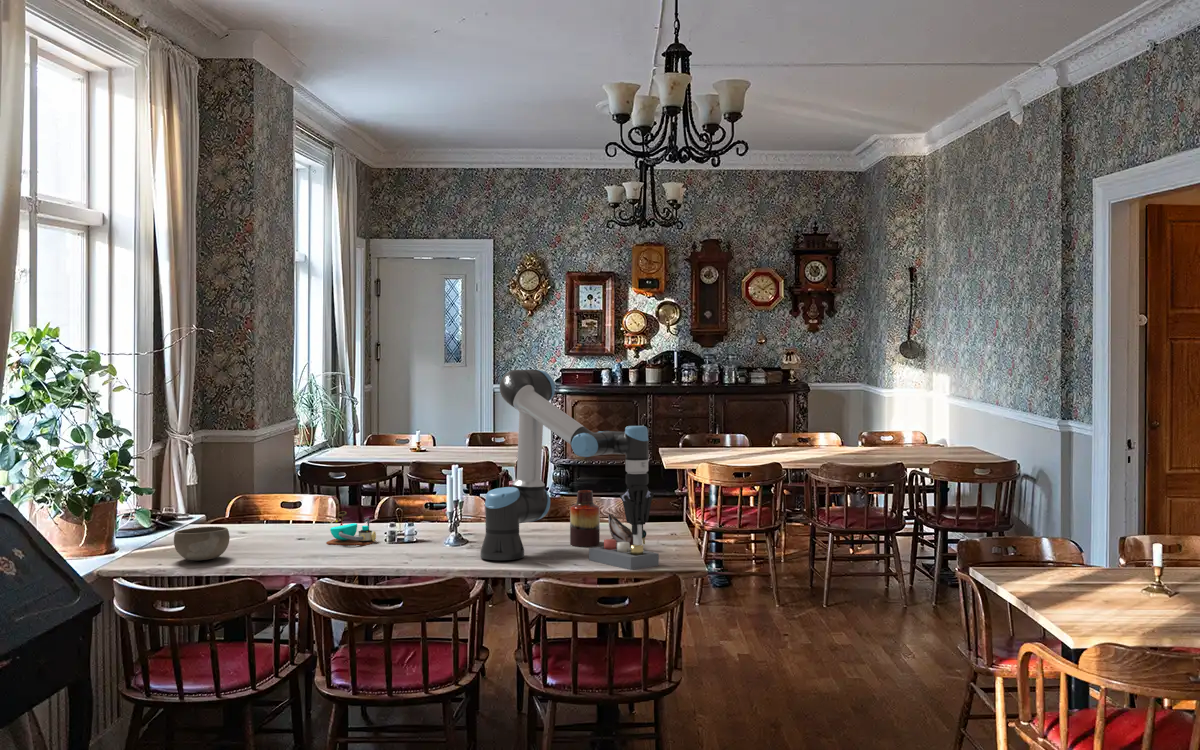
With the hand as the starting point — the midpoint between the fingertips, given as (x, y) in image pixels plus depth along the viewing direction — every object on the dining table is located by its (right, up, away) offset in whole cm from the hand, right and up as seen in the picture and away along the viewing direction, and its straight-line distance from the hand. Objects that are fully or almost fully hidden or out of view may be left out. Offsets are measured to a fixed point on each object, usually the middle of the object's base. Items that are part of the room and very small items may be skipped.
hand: (637, 544), depth 337 cm
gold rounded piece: (0, -4, 0) cm, 4 cm away
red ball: (-9, -4, +11) cm, 15 cm away
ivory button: (-5, -4, +6) cm, 8 cm away
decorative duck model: (-1, -7, +29) cm, 30 cm away
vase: (-18, -7, +38) cm, 43 cm away
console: (-5, -7, +6) cm, 10 cm away
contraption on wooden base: (-105, -8, +42) cm, 113 cm away
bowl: (-149, -7, +13) cm, 150 cm away
